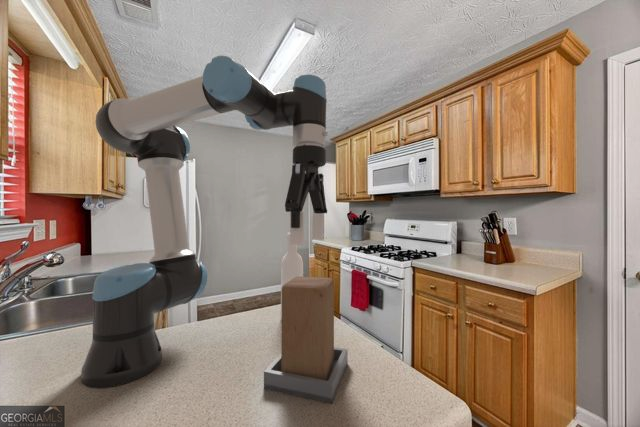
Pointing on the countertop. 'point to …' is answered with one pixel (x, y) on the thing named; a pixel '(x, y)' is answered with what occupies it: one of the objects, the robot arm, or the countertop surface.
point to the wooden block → (308, 327)
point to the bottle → (290, 265)
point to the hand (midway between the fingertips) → (308, 241)
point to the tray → (307, 379)
